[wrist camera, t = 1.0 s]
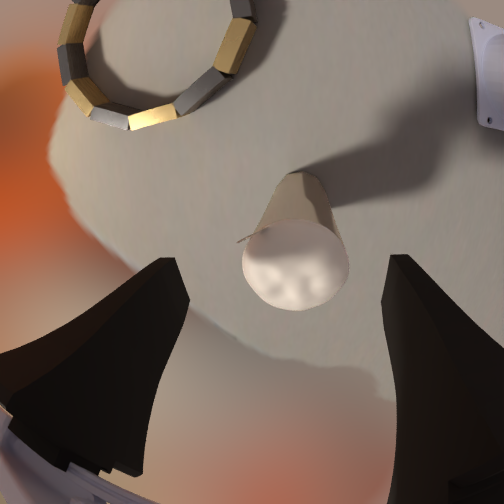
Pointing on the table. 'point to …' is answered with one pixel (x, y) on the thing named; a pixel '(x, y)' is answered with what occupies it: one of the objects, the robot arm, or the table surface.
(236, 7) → the ring
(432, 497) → the robot arm
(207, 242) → the table surface
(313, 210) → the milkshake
